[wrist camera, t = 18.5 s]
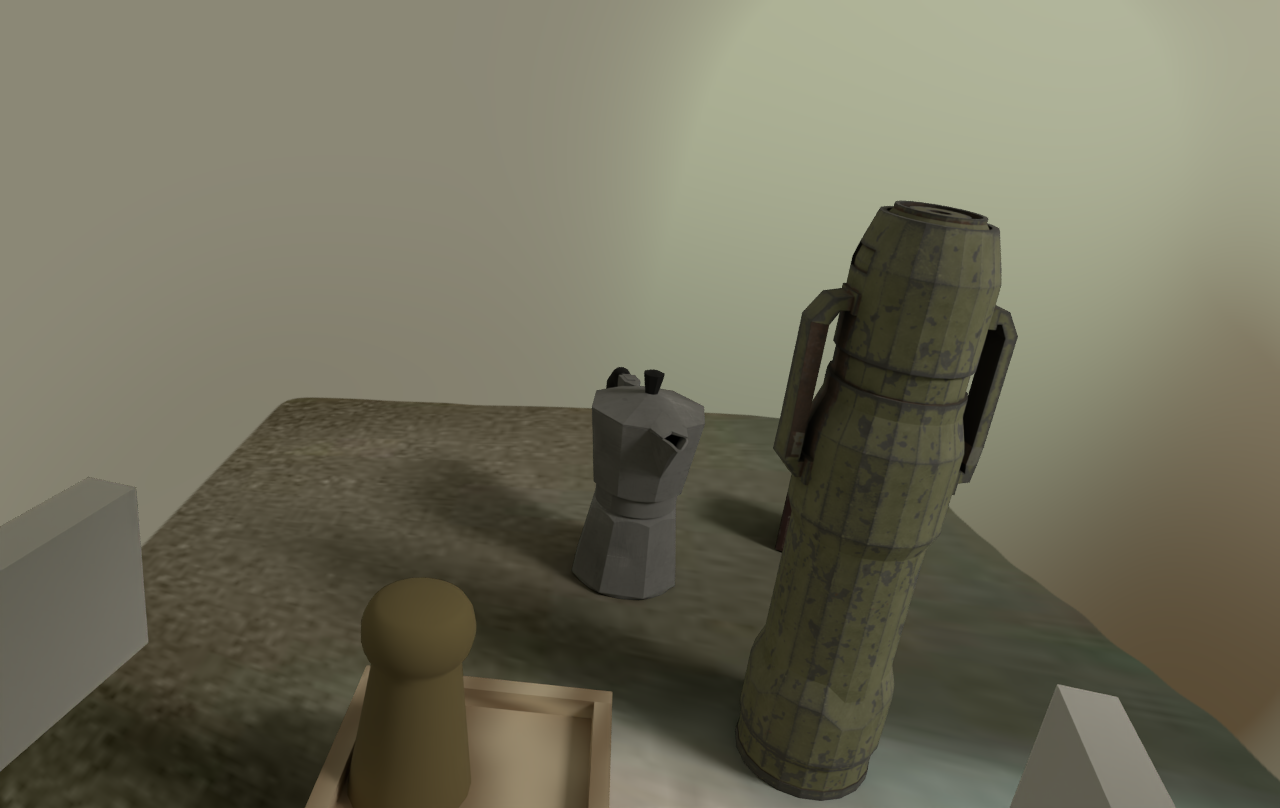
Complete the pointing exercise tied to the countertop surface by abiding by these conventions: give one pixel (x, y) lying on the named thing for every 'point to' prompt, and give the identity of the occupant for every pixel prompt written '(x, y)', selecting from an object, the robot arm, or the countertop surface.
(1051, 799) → the robot arm
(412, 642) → the cork
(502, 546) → the countertop surface
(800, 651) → the thermos
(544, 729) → the oak stand
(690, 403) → the coffeepot
